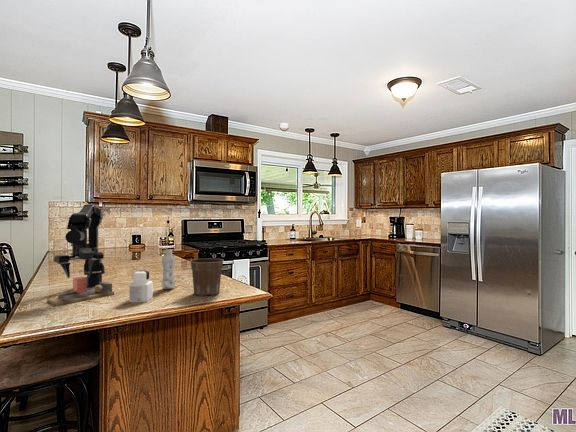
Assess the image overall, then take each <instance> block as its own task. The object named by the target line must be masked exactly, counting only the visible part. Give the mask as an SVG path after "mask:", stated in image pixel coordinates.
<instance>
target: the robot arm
mask: <svg viewBox="0 0 576 432" xmlns="http://www.w3.org/2000/svg"><path fill="white" fill-rule="evenodd" d="M103 219H104V214H103V211H102V209H100V208H99V207H97V205H96V204H83V207H82V208H81V209H80V210H79V211H78V212H75V213H74V212H73V213H72V214H71V215H70V216H69V218H68V223H67V226H66V229H67V230H68V232H66V234H65V240H66V242H68V244H70V247H72V248H71V249H72V250H71V251H72V252H70V255H68V254H67V255H66V254H59V255H58V254H57V255H55V256H54V257H53V263H57V265H60V266H61V267H62V269H63V272H64V273H65V275H66V278H68V279H70V278H71V276H70V275H71V274H70V271H71V270H70V265H71V262H70V261H76V260H83V261H84V263H83V264H84V265H83V273H84V276H85V277H86V278H87V287H88V288H94V287H95V286H96V285H99V282H103V275H105V274H106V272H105V271H106V270H105V265H104V263H103V260H102V259H104V258H105V256H104V253H103V252H102V251H99V227H100V225H101V224H102V221H103ZM69 230H70V231H69Z"/></svg>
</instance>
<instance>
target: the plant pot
mask: <svg viewBox="0 0 576 432" xmlns="http://www.w3.org/2000/svg"><path fill="white" fill-rule="evenodd" d="M224 261H225V260H224V259H223V258H206V257H205V258H195V259H190V260H189V262H190V268H191V272H192V285H193V286H192V287H193V294H194V295H197V296H201V297H202V296H204V297H205V296H208V295H210V296H214V295H218V294H219V293H220V292H221V291H220V287H221V278H222V269H223V264H224Z"/></svg>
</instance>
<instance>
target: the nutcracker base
mask: <svg viewBox="0 0 576 432" xmlns="http://www.w3.org/2000/svg"><path fill="white" fill-rule="evenodd" d="M93 288H94V289H95V293H94V294H89V292H84V293H79V294H74V295H73V291H69V292H65V293H64V292H63V293H58V294H57V297H53V298H47V300H46V301H47V302H46V303H49V304H51V305H54V306H57V307H60V306H64V305H69V304H74V303H75V304H76V303H79V302H83V301H84V302H85V301H89V300H93V299H94V300H95V299H100V298H104V297H109V296H113V295H115V291H113V282H112V283H111V282H106V281H103V280H102V282H99V285H96V286H95V287H93Z"/></svg>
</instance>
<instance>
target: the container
mask: <svg viewBox="0 0 576 432" xmlns="http://www.w3.org/2000/svg"><path fill="white" fill-rule="evenodd" d="M132 274H133V275H132V277H133V279H132V280H133V283H130V284H129V285H128V286H129V293H128V294H129V298H128V299H129V303H147V302H149V301H150V300H152V299H153V297H154V294H153V293H154V292H153V288H154V287H153V285H154V283H153V281H152V280H150V272H149V271H148V270H142V269H141V270H136V271H133V273H132Z"/></svg>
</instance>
